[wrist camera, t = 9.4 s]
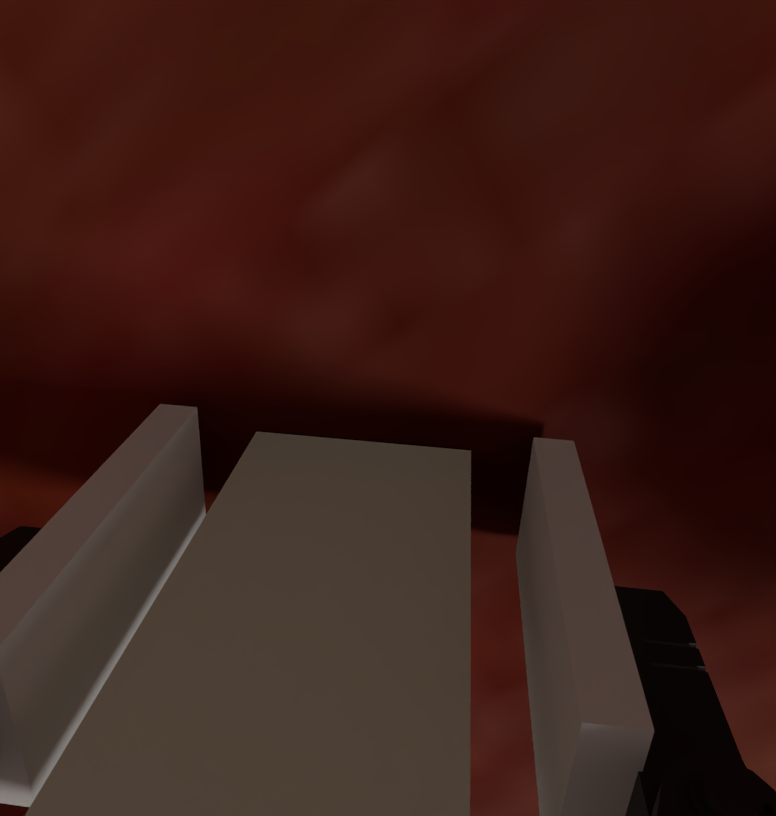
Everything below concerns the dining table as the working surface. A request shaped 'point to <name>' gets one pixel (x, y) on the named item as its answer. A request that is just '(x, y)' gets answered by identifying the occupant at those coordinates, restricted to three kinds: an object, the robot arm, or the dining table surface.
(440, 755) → the end tile
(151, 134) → the dining table surface
